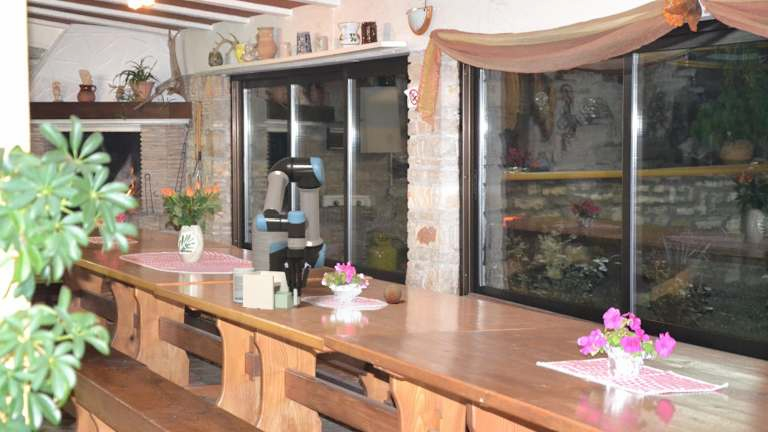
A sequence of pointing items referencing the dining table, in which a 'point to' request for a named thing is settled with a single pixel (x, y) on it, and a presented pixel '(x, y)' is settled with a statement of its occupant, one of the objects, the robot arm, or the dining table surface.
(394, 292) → the fruit
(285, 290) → the box
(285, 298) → the tray
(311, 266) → the robot arm
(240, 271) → the supplement tub
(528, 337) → the dining table surface
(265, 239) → the vase
